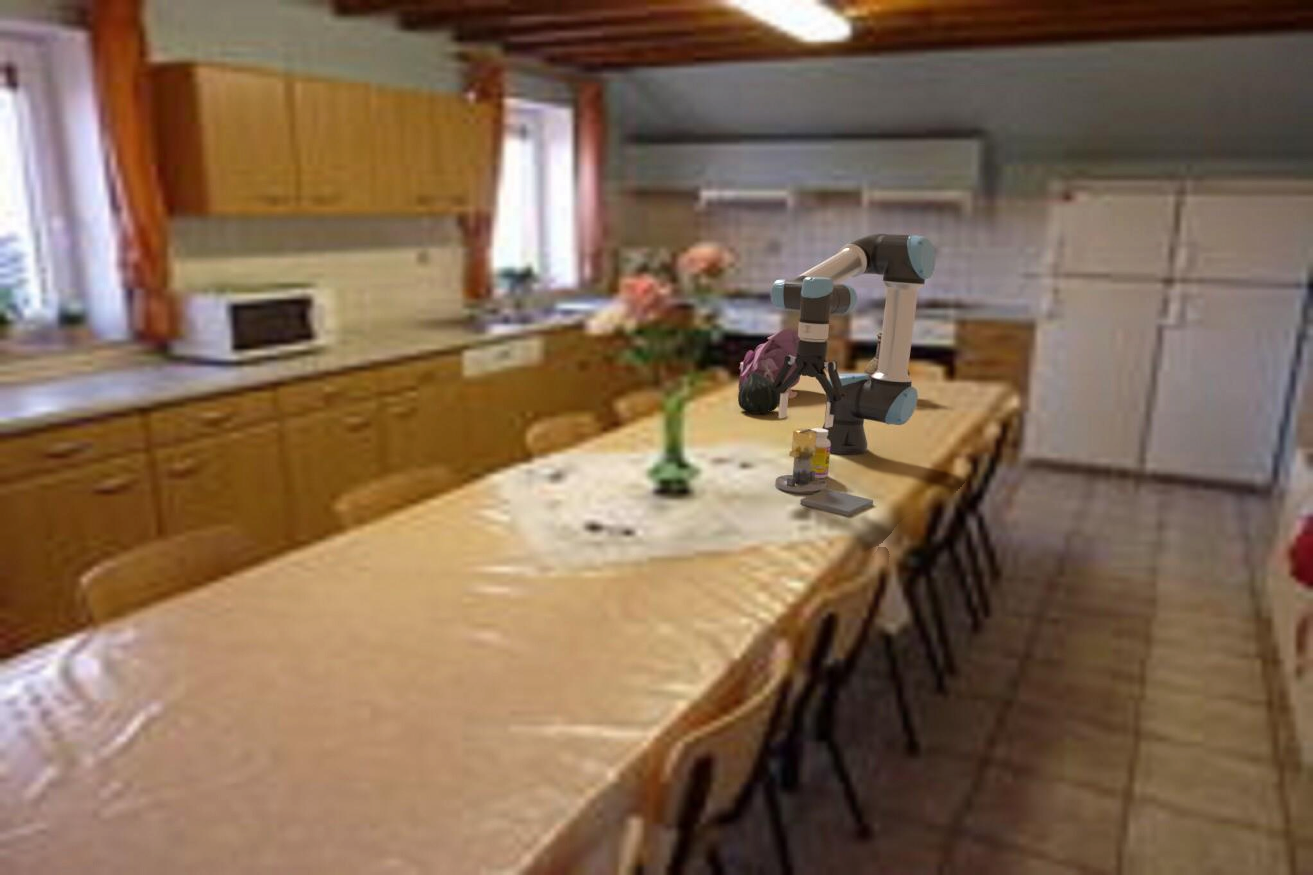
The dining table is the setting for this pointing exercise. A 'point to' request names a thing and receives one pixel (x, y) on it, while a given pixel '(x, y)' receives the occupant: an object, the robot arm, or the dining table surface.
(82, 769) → the dining table surface
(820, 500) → the tile
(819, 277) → the robot arm
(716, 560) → the dining table surface
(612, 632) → the dining table surface
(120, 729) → the dining table surface
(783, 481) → the post
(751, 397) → the squash
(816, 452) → the supplement bottle
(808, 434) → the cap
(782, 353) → the flower arrangement
